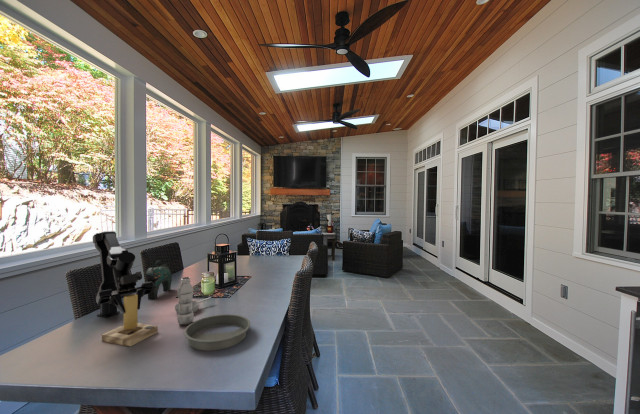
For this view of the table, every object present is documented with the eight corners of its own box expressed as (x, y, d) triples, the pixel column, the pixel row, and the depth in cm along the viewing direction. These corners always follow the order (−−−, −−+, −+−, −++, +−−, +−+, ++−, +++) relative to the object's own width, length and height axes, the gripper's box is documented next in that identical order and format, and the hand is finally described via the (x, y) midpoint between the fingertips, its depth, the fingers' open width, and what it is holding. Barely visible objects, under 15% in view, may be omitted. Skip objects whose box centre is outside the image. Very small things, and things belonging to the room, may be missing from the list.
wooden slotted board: (101, 341, 107) (101, 334, 107) (130, 327, 118) (130, 321, 118) (130, 346, 103) (130, 339, 103) (157, 332, 114) (157, 325, 114)
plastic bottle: (197, 321, 125) (197, 276, 125) (185, 327, 119) (185, 280, 118) (185, 319, 127) (185, 275, 127) (173, 325, 121) (173, 279, 120)
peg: (121, 329, 108) (121, 298, 108) (126, 324, 112) (126, 294, 112) (134, 328, 109) (134, 297, 109) (139, 323, 113) (139, 294, 113)
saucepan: (170, 312, 135) (170, 304, 135) (205, 302, 150) (205, 295, 150) (181, 318, 129) (181, 309, 129) (216, 306, 143) (216, 299, 143)
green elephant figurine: (154, 300, 151) (154, 263, 151) (142, 300, 151) (142, 263, 151) (173, 289, 171) (173, 256, 171) (163, 289, 171) (163, 256, 171)
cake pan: (263, 332, 116) (263, 321, 116) (213, 361, 94) (213, 347, 94) (222, 319, 128) (222, 309, 128) (170, 342, 107) (170, 330, 107)
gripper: (98, 270, 106) (106, 306, 99) (153, 262, 120) (163, 293, 113) (93, 286, 111) (100, 322, 104) (146, 277, 125) (155, 308, 118)
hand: (131, 310), depth 110 cm, fingers closed on peg, 5 cm apart
